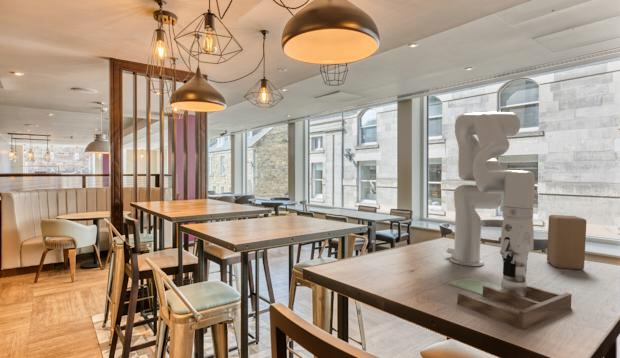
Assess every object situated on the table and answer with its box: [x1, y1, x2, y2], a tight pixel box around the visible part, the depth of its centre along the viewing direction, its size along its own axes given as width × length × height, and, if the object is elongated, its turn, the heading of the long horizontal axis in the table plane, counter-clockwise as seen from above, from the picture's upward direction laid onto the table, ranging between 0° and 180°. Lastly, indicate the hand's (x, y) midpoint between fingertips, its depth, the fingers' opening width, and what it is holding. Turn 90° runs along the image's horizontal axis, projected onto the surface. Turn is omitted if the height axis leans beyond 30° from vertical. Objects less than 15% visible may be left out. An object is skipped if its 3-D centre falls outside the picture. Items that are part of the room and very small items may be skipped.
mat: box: [447, 276, 502, 296], centre depth 109 cm, size 12×12×1 cm
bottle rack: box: [456, 284, 573, 331], centre depth 93 cm, size 17×26×4 cm
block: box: [546, 214, 587, 271], centre depth 136 cm, size 10×10×20 cm
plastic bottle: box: [500, 244, 530, 298], centre depth 99 cm, size 6×7×20 cm
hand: (514, 274), depth 99 cm, fingers closed on plastic bottle, 5 cm apart
